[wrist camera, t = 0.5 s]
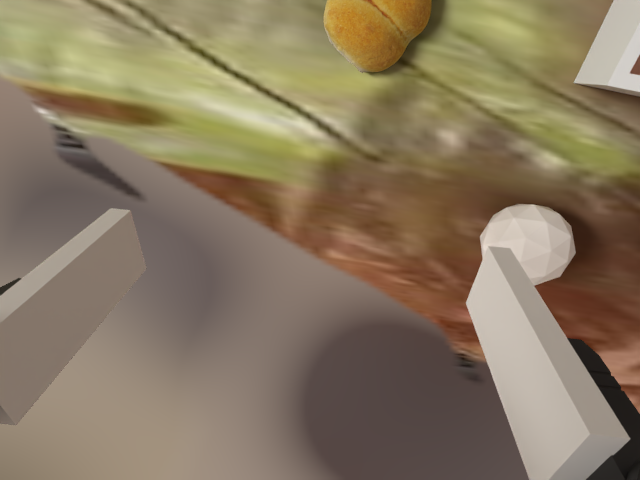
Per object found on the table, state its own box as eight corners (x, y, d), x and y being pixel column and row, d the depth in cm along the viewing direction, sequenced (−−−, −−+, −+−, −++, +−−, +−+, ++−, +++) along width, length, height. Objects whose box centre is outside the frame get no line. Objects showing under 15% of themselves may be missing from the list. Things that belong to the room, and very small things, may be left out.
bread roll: (449, -3, 30) (456, -12, 26) (376, 86, 34) (373, 88, 30) (377, -77, 29) (374, -97, 25) (310, 25, 33) (300, 19, 29)
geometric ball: (527, 210, 38) (608, 236, 32) (487, 273, 39) (558, 311, 33) (493, 180, 34) (579, 202, 27) (449, 251, 35) (522, 289, 28)
